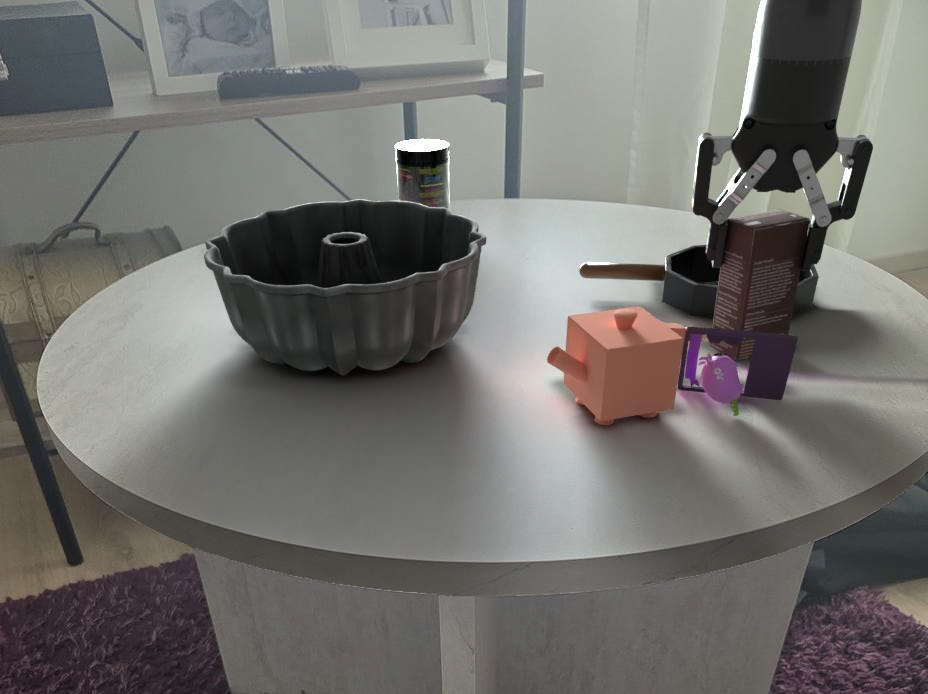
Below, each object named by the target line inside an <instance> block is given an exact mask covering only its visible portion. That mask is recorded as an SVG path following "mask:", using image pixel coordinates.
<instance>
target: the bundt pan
mask: <svg viewBox="0 0 928 694" xmlns="http://www.w3.org/2000/svg"><path fill="white" fill-rule="evenodd" d="M479 229H480V227H479V223H477V222H476V220H474V219H472V218H470V217H467V216H465V215H460V214H455V213H453V212H452V211H451V208H450V209H448V208H435V207H428V206H425V205H423V204H419V203H414V202H408V201H398V200H377V201H376V200H375V201H374V200H369V199H363V198H356V199H353V200H352V199H351V200H346V201H318V202H317V201H315V202H308V203H303V204H298V205H293V206H290V207H287V208H284V209H274V210H272V209H271V210H265V211H263V212H261V213H259V214H258V215H257V216H254V217H248V218H245V219H241V220H238V221H237V220H236V221H235V222H232V223H230V224H228V225H226V226H224V227H223V228H222V229H221V230H220V232H219V234H218V235H217V236H215V237H212V238H209V239H207V240H205V242H204V243H205V247H206V251H205V252H204V255H203V259H204V263H205V267H207V268H208V269H209V270H210V271H212V273H213V276H214V279H215V281H216V284H217V287H218V290H219V293H220V297H221V299H222V301H223V305H224V307H225V310H226V313H227V315H228V319H229V321H230V323H231V326H232V327H233V329H234V331H235V333H236V334H237V335H238V336H239V337H240V338H241V339H242V340H243V341H244V342H245V343H246V344H248V345H249V346H251V348H252V349H253V350H254V352H255V353H256V354H257V355H258V356H259V357H260V358H262V359H263V360H265V361H267V362H268V363H272V364H276V365H289V366H291V367H292V368H293V369H294V368H295V369H297V370H299V371H305V372H316V371H321V370H325V369H326V368H329V369H331V370H332V371H334V372H335V373H337V374H338V375H340V376H346V375H348V374H349V373H350V372H351V371H352V370H354V369H355V368H357V367H360V368H362V369H364V370H367V371H368V370H369V371H383V370H387V369H390V368H391V367H394V366H395V365H397V364H398V363H399V362H400V361H401V362H405V363H407V364H414V363H418V362H421V361H423V360H424V359H425V358H426V357H428V355H429V354H430V352H431V351H433V350H436V349H439V348H441V347H443V346H445V345H446V344H447V343H448V342H450V341H451V340H452V339H453V338H455V336H456V334H457V333H458V332H459V330H460V329H461V326H462V325H463V324H464V322H465V321H466V320H467V318H468V316H469V314H470V312H471V310H472V308H473V305H474V301H475V295H476V289H477V288H476V287H477V282H478V274H479V268H480V261H481V252H482V247H483V246H485V245H486V244H487V235H485V234H482V233H480V232H479Z"/></svg>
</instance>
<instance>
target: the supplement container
mask: <svg viewBox="0 0 928 694" xmlns="http://www.w3.org/2000/svg"><path fill="white" fill-rule="evenodd" d="M394 150H395V152H394V153H395V165H396V184H397V186H396V187H397V201H408V202H414V203H419V204H423V205H425V206H428V207H435V208H448V209H450V210H451V202H450V143H449V142H447V141H445V140H440V139H430V138H429V139H428V138H427V139H424V138H421V139H419V138H418V139H409V140H403V141H400V142H397V143H396V144H395V145H394Z"/></svg>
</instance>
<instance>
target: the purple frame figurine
mask: <svg viewBox="0 0 928 694" xmlns="http://www.w3.org/2000/svg"><path fill="white" fill-rule="evenodd" d="M685 328H686V333H685V339H684V345H683V350H682V356H681V362H680V368H679V375H678V382H677V390H679V391H685V392H693V393H694V392H696V393H703V394H704V393H705V394H706V395H707V396H708V397H709V398H710V399H711V400H713V401H714V402H717V403H721V404H730V408H732V409H731V412H732V413H733V415H732V416H733V417H738V416H739V414H740V411H739V406H738V405H739V404H738V402H737V400H738V399H739V398H740V397H745V398H756V399H766V400H775V401H781V400H783V398H784V394H785V392H786V391H785V390H786V387H787V383H788V379H789V375H790V372H791V368H792V365H793V361H794V357H795V353H796V349H797V345H798V342H799V336H798V335H796V334H788V335H786V334H774V333H762V332H750V331H738V330H726V329H714V328H712V327H702V326H701V327H700V326H690V325H688V326H686V327H685ZM706 338H707V340H708V343H709V344H710V343H718V344H719V343H720V342H721V341H722V340H723V339H724V340H725V342H726V343H727V344H729V345H737V344H738V343H739V342H740V341H741V340H742V339H743V338H749V339H755V342H754V346H753V351H752V356H751V357H750V361H749V365H748V370H747V375H746V379H745V383H744V384H743V383H741V381H740V378H739V371H738V367H740V365H741V364H739V363H736V362H735V360H734V359H732V358H731V357H729V356H727V355H725V354H723V353H722V352H718V353H714V354H713V356H711V353H707V354H706V355H707V356H701V357H699V353H700V350H701V349H700V348H701V345H702V342H703V341H705V340H706ZM698 361H700V362H699V363H698ZM702 365H703V367H702V370H701V372H700V382H699V379H697V378H696V377H697V370H698V369H697V368H698V366H702ZM684 378H685V379H687V380H689V382H690V385H687V384H685V385H684ZM700 384H701V386H700ZM694 385H696V386H694ZM742 388H744V390H742Z"/></svg>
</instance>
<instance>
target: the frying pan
mask: <svg viewBox="0 0 928 694" xmlns="http://www.w3.org/2000/svg"><path fill="white" fill-rule="evenodd" d="M706 245H707V244H697V245H691V246H688V247H685V248H683V249H680V250H678V251H675V252H673V253H670V254H667V255H666V256H664V257H665V258H664V263H663V264H656V263H655V264H653V263H652V264H651V263H624V262H623V263H622V262H592V261H586V262H583V263H582V264H581V265H580V267H579V269H578V272H579V275H580V277H582V278H583V279H595V280H596V279H599V280H622V281H623V280H624V281H625V280H626V281H647V282H648V281H649V282H650V281H651V282H661V288H660V303H662V304H663V303H664V304H668V305H669V306H671V307H673V308H675V309H678V310H679V311H682V312H683V313H685V314H687V315H689V316H692V317H699V318H705V319H711V320H713V319H714V312H715V305H716V297H717V290H718V285H712V283H718V282H719V275H720V268H712V261H708V259H707V255H706ZM819 278H820V277H819V273H818V271H817V269H816V266H815V264H812V266H811V269H810V271H800V276H799V281H798V286H797V292H796V297H795V302H794V307H793V313H792V318H794V317H795V316H796V315H798V314H800V313H803V312H804V311H806V310H808V309H812V307H813V304H814V299H815V294H816V290H817V286H818V282H819ZM708 283H709V284H708ZM710 283H711V284H710Z"/></svg>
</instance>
